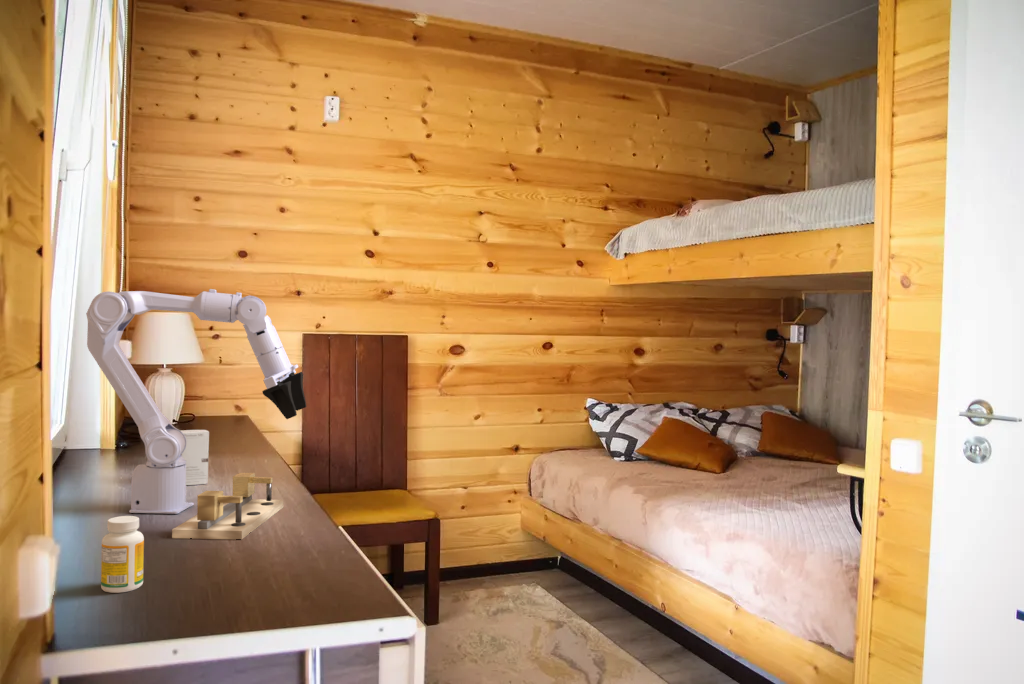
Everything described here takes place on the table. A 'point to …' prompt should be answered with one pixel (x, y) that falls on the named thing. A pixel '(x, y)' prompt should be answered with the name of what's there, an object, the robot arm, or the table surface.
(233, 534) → the board
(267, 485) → the tan block with post
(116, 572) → the supplement bottle
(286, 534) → the table surface
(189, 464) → the skincare box
